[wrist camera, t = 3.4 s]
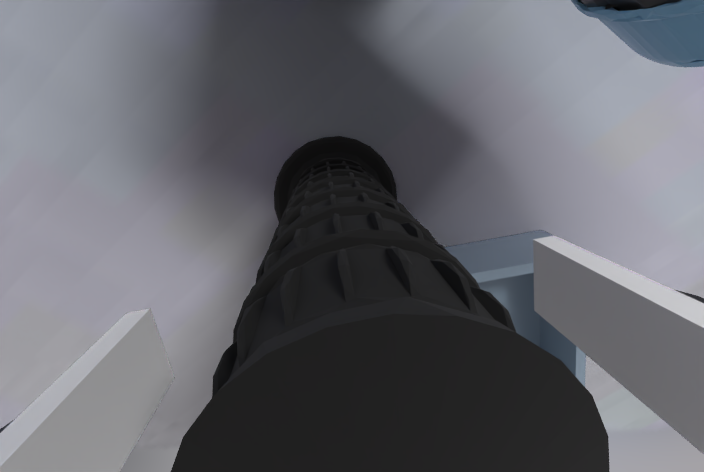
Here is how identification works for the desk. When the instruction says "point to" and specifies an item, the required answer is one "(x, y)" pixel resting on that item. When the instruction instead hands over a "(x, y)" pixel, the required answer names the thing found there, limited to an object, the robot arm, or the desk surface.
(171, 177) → the desk surface
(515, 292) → the box
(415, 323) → the handle grip
